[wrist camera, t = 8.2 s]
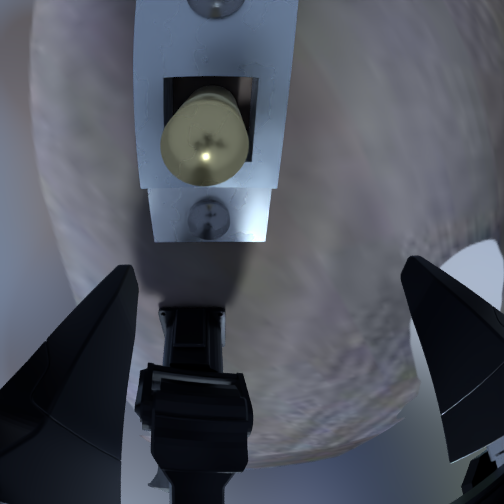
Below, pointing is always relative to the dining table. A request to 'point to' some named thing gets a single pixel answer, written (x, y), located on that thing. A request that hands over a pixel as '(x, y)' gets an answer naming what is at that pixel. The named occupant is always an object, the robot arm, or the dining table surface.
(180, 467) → the robot arm
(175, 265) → the dining table surface
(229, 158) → the pin
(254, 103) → the slotted mounting bracket
